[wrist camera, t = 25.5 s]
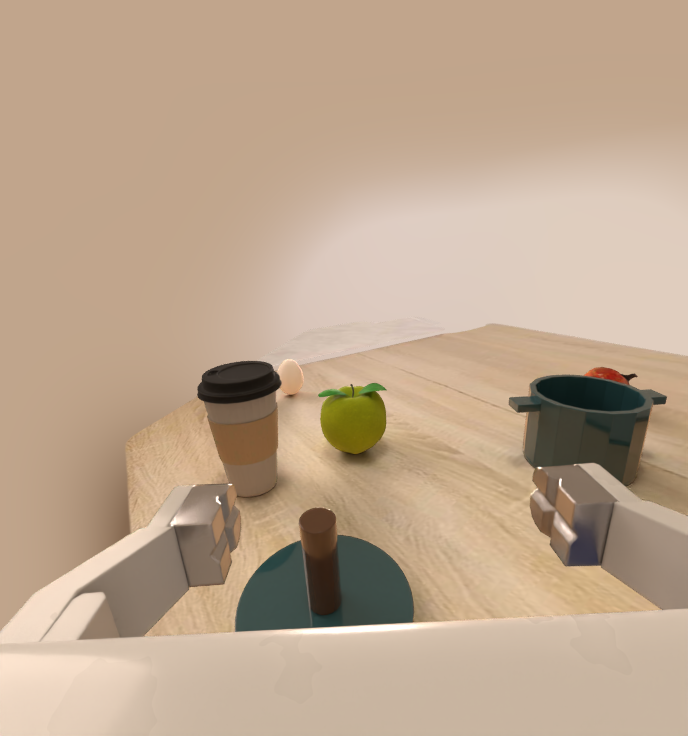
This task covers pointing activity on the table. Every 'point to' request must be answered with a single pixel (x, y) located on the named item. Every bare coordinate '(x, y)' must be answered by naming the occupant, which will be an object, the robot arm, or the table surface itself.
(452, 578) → the table surface
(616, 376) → the pomegranate
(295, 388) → the egg
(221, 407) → the coffee cup
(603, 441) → the pot
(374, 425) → the fruit
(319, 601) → the lid
